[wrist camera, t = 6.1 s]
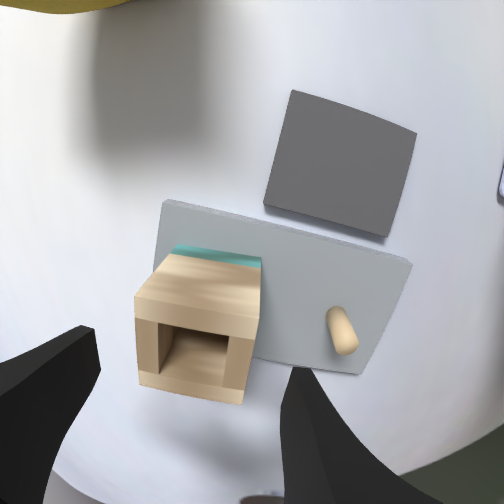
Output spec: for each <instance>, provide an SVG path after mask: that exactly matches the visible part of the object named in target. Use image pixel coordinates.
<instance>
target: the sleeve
mask: <svg viewBox="0 0 504 504" xmlns="http://www.w3.org/2000/svg"><path fill="white" fill-rule="evenodd" d="M260 283H261V257H256V256H249V255H243V254H237V253H231V252H224V251H218V250H212V249H206V248H199V247H193V246H187V245H181V244H177V245H176V247H175V248H174V249H173V250H172V251H171V252H170V254H169V255H168V256H167V257H166V258H165V259H164V261H163V262H162V263H161V264H160V265H159V266H158V268H157V269H156V270H155V271H154V272H153V274H152V275H151V276H150V277H149V278H148V280H147V281H146V282H145V283H144V284H143V286H142V287H141V288H140V289H139V291H138V292H137V293H136V294H135V295H134V308H135V333H136V350H137V363H138V375H139V385H142V386H146V387H150V388H154V389H159V390H163V391H167V392H172V393H176V394H181V395H186V396H191V397H196V398H201V399H207V400H212V401H218V402H225V403H231V404H238V405H242V401H243V396H244V391H245V387H246V382H247V377H248V372H249V367H250V362H251V357H252V352H253V348H254V343H255V338H256V333H257V328H258V322H259V313H260Z"/></svg>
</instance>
